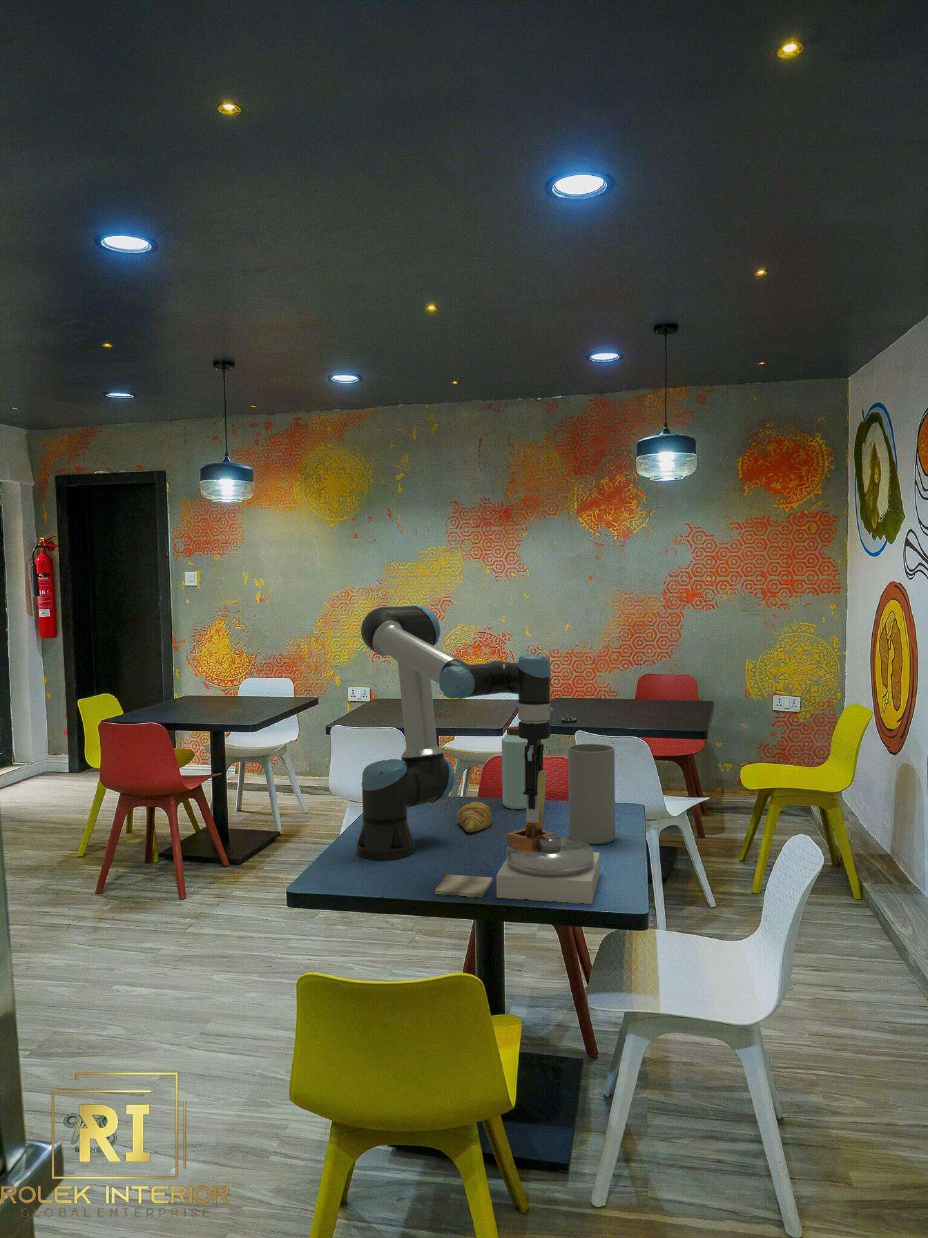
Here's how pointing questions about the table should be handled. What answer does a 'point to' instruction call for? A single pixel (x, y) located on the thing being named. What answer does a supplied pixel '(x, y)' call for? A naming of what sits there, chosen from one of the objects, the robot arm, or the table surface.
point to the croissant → (474, 816)
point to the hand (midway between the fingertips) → (534, 819)
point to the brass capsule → (536, 828)
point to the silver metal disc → (548, 854)
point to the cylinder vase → (591, 793)
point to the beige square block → (549, 885)
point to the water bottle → (513, 769)
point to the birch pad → (464, 885)
